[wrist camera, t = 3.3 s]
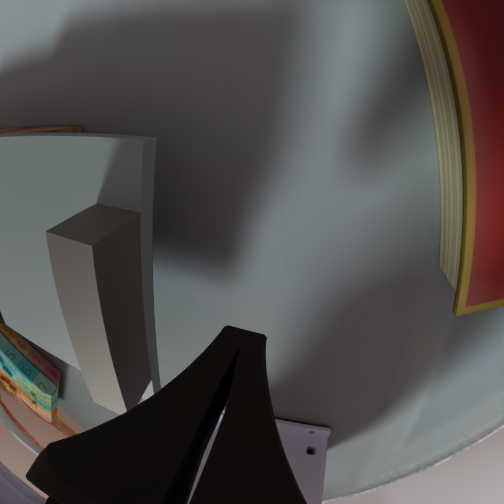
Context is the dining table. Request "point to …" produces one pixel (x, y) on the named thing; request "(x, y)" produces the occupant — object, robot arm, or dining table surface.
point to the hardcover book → (467, 140)
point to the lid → (82, 255)
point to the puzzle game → (28, 373)
